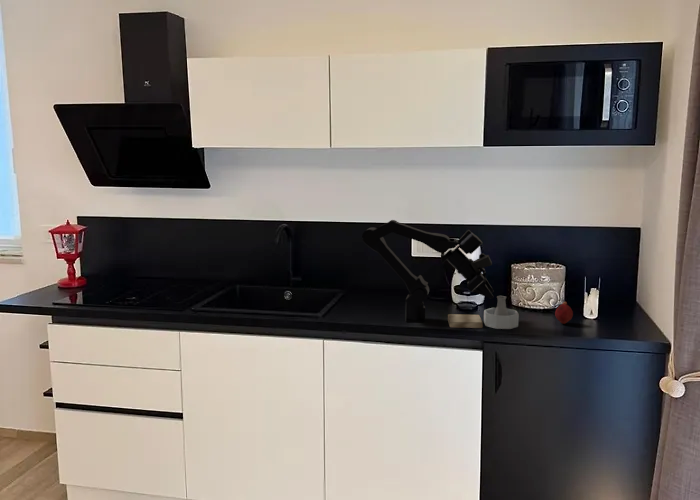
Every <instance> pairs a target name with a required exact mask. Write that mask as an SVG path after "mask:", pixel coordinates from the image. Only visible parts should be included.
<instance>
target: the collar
mask: <svg viewBox="0 0 700 500" xmlns="http://www.w3.org/2000/svg"><path fill="white" fill-rule="evenodd" d="M496 308H497V307H491V308H490V307H489V308H487V309H484V310H483V323H484V326H485V327H489V328H493V329H496V330H501V329H502V330H511V329H515V328H518V327H519V317H520V316H519V312H518V311H517V310H516V309H512V308H508V307H506V309H507V312H508V315H509V316H497V315H494V313H495V310H496Z"/></svg>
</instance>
